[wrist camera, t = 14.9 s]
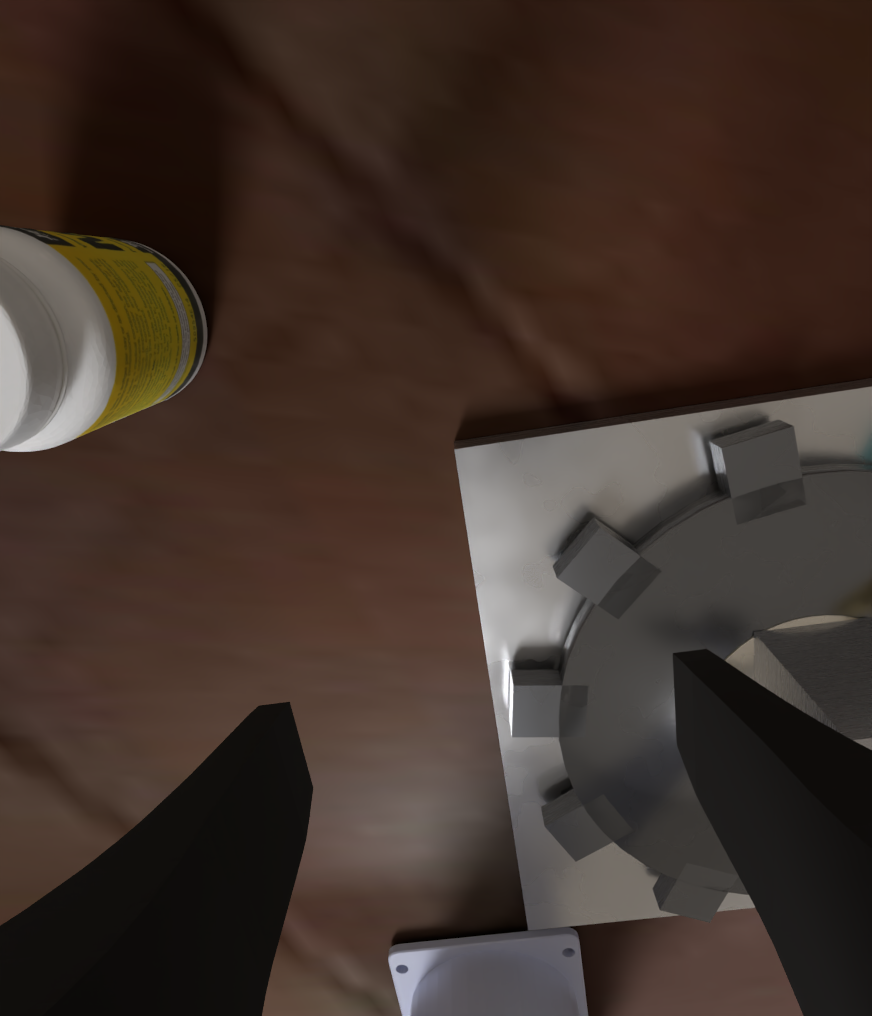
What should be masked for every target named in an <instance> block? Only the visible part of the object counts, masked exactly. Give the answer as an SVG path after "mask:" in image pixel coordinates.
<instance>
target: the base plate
mask: <svg viewBox="0 0 872 1016" xmlns="http://www.w3.org/2000/svg"><path fill="white" fill-rule="evenodd" d="M778 419H779V420H781V421H783V422H786V423H788V424H790V425H793V426H794V430H795V436H796V442H797V448H798V454H799V460H800V466H801V467H803V466H813V465H823V464H863V465H872V378H870V379H863V380H857V381H850V382H844V383H837V384H830V385H824V386H817V387H811V388H804V389H797V390H791V391H784V392H778V393H771V394H764V395H758V396H751V397H744V398H738V399H731V400H725V401H718V402H711V403H705V404H698V405H692V406H685V407H678V408H672V409H665V410H659V411H652V412H645V413H639V414H632V415H626V416H619V417H612V418H606V419H599V420H593V421H586V422H579V423H573V424H566V425H560V426H553V427H546V428H540V429H533V430H526V431H520V432H513V433H507V434H500V435H493V436H487V437H480V438H474V439H467V440H460V441H454V449H455V456H456V462H457V469H458V475H459V482H460V488H461V495H462V501H463V508H464V515H465V521H466V528H467V534H468V541H469V547H470V554H471V560H472V567H473V573H474V580H475V586H476V593H477V599H478V606H479V612H480V619H481V625H482V632H483V638H484V645H485V652H486V658H487V665H488V671H489V678H490V684H491V691H492V697H493V704H494V710H495V717H496V723H497V730H498V736H499V743H500V749H501V756H502V762H503V769H504V775H505V782H506V788H507V795H508V802H509V808H510V815H511V821H512V828H513V834H514V841H515V847H516V854H517V860H518V867H519V873H520V880H521V886H522V893H523V899H524V906H525V912H526V919H527V925H528V931H530V930H540V929H549V928H559V927H569V926H579V925H589V924H598V923H608V922H618V921H628V920H638V919H648V918H657V917H667V916H677V914H673V913H669V912H665V911H661V910H659V907H658V904H657V901H656V898H655V895H654V892H653V889H652V888H653V887H654V885H655V883H656V881H657V880H658V878H659V876H660V874H661V873H660V872H658V871H657V870H655V869H653V868H651V867H649V866H647V865H645V864H643V863H641V862H640V861H638V860H637V859H635V858H634V857H632V856H631V855H630V854H628V853H627V852H625V851H624V850H622V849H621V848H620V847H619V846H618V845H617V844H615V843H614V842H612V843H610V844H609V845H607V846H605V847H603V848H601V849H599V850H597V851H595V852H594V853H592V854H590V855H588V856H586V857H584V858H582V859H580V860H578V861H577V862H575V860H574V859H573V858H572V857H571V856H570V855H569V854H568V853H567V851H566V850H565V849H564V848H563V847H562V846H561V845H560V843H559V842H558V841H557V840H556V839H555V838H554V837H553V836H552V834H551V833H550V832H549V831H548V830H547V829H546V828H545V826H544V821H543V815H542V810H541V807H542V806H543V805H545V804H547V803H549V802H551V801H552V800H554V799H556V798H558V797H560V796H561V795H563V794H565V793H567V792H568V791H570V790H572V789H573V787H572V784H571V781H570V779H569V776H568V774H567V771H566V769H565V765H564V761H563V757H562V753H561V748H560V744H559V739H558V737H512V736H511V729H510V722H509V711H510V673H511V670H558V667H559V663H560V659H561V655H562V651H563V647H564V645H565V642H566V640H567V637H568V635H569V633H570V630H571V628H572V625H573V623H574V620H575V618H576V617H577V615H578V613H579V612H580V610H581V608H582V606H583V605H584V603H585V601H586V600H587V598H586V597H584V596H583V595H581V594H580V593H578V592H577V591H575V590H574V589H572V588H571V587H569V586H568V585H566V584H565V583H563V582H562V581H560V580H559V579H557V577H556V574H555V571H554V569H553V565H554V563H555V562H556V561H557V560H558V559H559V557H560V556H561V555H562V554H563V553H564V551H565V550H566V549H567V548H568V547H569V545H570V544H571V543H572V542H573V541H574V540H575V538H576V537H577V536H578V535H579V534H580V532H581V531H582V530H583V529H584V528H585V526H586V525H587V524H588V523H589V522H590V520H591V519H592V518H593V517H594V518H596V519H597V520H598V521H600V522H601V523H603V524H604V525H606V526H607V527H608V528H610V529H611V530H613V531H614V532H616V533H617V534H618V535H620V536H621V537H623V538H624V539H625V540H627V541H628V542H630V543H631V544H634V543H635V542H636V541H637V540H639V539H640V538H641V537H642V536H644V535H645V534H646V533H647V532H649V531H650V530H651V529H652V528H654V527H655V526H656V525H658V524H659V523H660V522H661V521H663V520H665V519H666V518H668V517H669V516H671V515H673V514H674V513H676V512H677V511H679V510H681V509H682V508H684V507H685V506H687V505H689V504H690V503H692V502H694V501H696V500H698V499H700V498H702V497H705V496H707V495H709V494H711V493H713V492H715V491H717V490H719V486H718V481H717V476H716V471H715V466H714V462H713V457H712V452H711V447H710V443H709V441H711V440H714V439H717V438H720V437H724V436H727V435H730V434H733V433H736V432H740V431H743V430H746V429H749V428H752V427H755V426H759V425H762V424H765V423H768V422H771V421H775V420H778ZM746 908H755V906H754V904H753V902H752V900H751V898H750V896H749V895H744V894H737V893H729V892H728V894H727V895H726V897H725V899H724V900H723V902H722V903H721V905H720V907H719V908H718V910H717V911H726V910H736V909H746Z"/></svg>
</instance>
